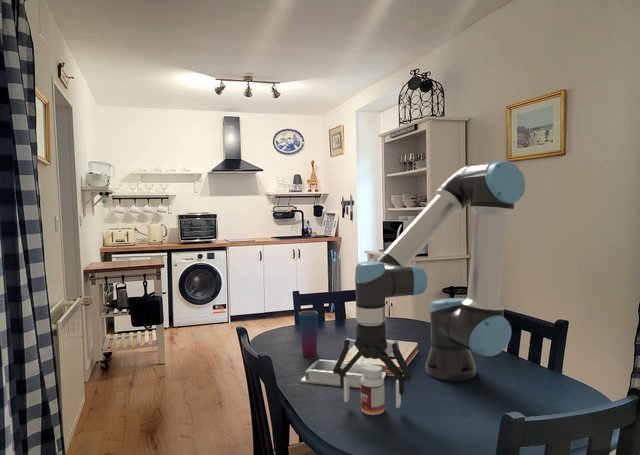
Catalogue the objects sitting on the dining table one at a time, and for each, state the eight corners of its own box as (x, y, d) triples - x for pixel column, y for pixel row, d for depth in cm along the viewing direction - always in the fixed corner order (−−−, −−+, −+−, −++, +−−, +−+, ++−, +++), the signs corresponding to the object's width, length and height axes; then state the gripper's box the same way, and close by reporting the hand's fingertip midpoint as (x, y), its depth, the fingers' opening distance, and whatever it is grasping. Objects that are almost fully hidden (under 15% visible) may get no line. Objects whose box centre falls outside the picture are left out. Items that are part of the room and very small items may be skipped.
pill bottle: (357, 408, 122) (355, 366, 122) (377, 403, 125) (376, 362, 124) (368, 417, 117) (367, 373, 116) (389, 412, 119) (388, 369, 118)
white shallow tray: (387, 372, 147) (387, 362, 147) (378, 390, 133) (378, 379, 133) (315, 366, 154) (315, 357, 154) (300, 382, 141) (300, 372, 141)
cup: (297, 356, 165) (295, 314, 164) (304, 350, 171) (303, 310, 170) (314, 358, 162) (313, 315, 161) (321, 352, 168) (320, 311, 168)
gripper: (421, 321, 119) (422, 402, 120) (328, 315, 127) (330, 391, 128) (418, 329, 112) (419, 414, 113) (320, 322, 120) (322, 403, 121)
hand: (372, 402), depth 121 cm, fingers open, 13 cm apart
